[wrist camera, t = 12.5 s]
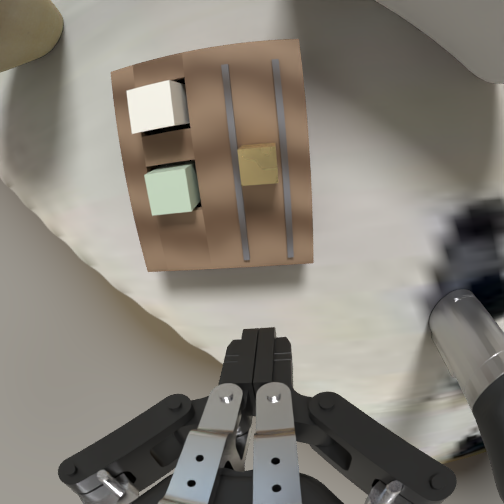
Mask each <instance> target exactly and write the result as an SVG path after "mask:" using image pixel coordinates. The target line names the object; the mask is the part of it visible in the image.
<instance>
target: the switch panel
mask: <svg viewBox="0 0 504 504" xmlns="http://www.w3.org/2000/svg"><path fill="white" fill-rule="evenodd" d="M180 79H185V87H186V95H187V104H188V112H189V120H190V128H188V129H181V130H176V131H170V132H164V133H159V134H154V135H151V134H150V130H149V131H144V132H139V133H134V134H132V130H131V123H130V116H129V108H128V100H127V92H126V91H127V90H131V89H135V88H138V87H142V86H146V85H150V84H154V83H158V82H163V81H167V80H171V81H175V80H180ZM111 80H112V90H113V99H114V107H115V115H116V122H117V129H118V136H119V142H120V148H121V154H122V160H123V166H124V171H125V176H126V182H127V187H128V192H129V196H130V201H131V206H132V210H133V215H134V219H135V223H136V228H137V232H138V236H139V240H140V244H141V248H142V252H143V256H144V259H145V263H146V267H147V270H148V272H158V271H180V270H200V269H220V268H239V267H257V266H274V265H291V264H307V263H313V219H312V191H311V170H310V153H309V138H308V124H307V112H306V100H305V90H304V80H303V70H302V61H301V53H300V44H299V39H284V40H268V41H256V42H246V43H237V44H230V45H223V46H216V47H210V48H204V49H198V50H193V51H188V52H183V53H178V54H174V55H169V56H165V57H161V58H157V59H153V60H149V61H146V62H142V63H138V64H135V65H132V66H128V67H125V68H122V69H119V70H116V71H113V72H111ZM261 143H275V145H276V156H277V168H278V181H279V183H274V184H260V185H247V186H241V178H240V169H239V160H238V151H237V150H238V149H239V148H240V147H241V146H242V145H250V144H261ZM194 159H195V165H196V172H197V179H198V185H199V192H200V198H201V205H202V207H197V208H194V209H193V211H192V212H182V213H172V214H163V215H154V216H152V212H151V208H150V203H149V198H148V192H147V187H146V182H145V177H144V175H145V174H147V173H149V172H151V171H152V170H154V169H156V166H155V165H160V164H166V163H173V162H179V161H186V160H194Z"/></svg>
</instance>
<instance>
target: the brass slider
mask: <svg viewBox="0 0 504 504" xmlns="http://www.w3.org/2000/svg"><path fill="white" fill-rule="evenodd" d="M237 151H238V160H239V169H240V178H241V186H247V185H260V184H274V183H279V181H278V168H277V156H276V145H275V143H261V144H250V145H242V146H241V147H240V148H239V149H238V150H237Z"/></svg>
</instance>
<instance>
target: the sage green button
mask: <svg viewBox="0 0 504 504" xmlns="http://www.w3.org/2000/svg"><path fill="white" fill-rule="evenodd" d="M144 177H145V182H146V187H147V192H148V198H149V203H150V208H151V212H152V216H154V215H163V214H172V213H182V212H192V211H193V209H194V208H195V207H196V206H197V204H198V203H199V202H200V200H201V198H200V192H199V185H198V179H197V172H196V165H195V161H188V162H181V163H174V164H167V165H162V166H160V167H158V168H156V169H154V170H152V171H151V172H149V173H147V174H145V175H144Z"/></svg>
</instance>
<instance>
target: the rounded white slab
mask: <svg viewBox="0 0 504 504" xmlns="http://www.w3.org/2000/svg"><path fill="white" fill-rule="evenodd" d="M375 1H376V2H378V3H380V4H381V5H383V6H385V7H386V8H388V9H390V10H391V11H393V12H394V13H396V14H397V15H399V16H401V17H402V18H404V19H405V20H406V21H408V22H409V23H411V24H412V25H414V26H415V27H417V28H418V29H419V30H421V31H422V32H423V33H425V34H426V35H427V36H429V37H430V38H431V39H433V40H434V41H435V42H437V43H438V44H439V45H440V46H442V47H443V48H444V49H445V50H446V51H448V52H449V53H450V54H451V55H452V56H454V57H455V58H456V59H457V60H458V61H459V62H460V63H462V64H463V65H464V66H465V67H466V68H467V69H468V70H469V71H470V72H472V73H473V74H474V75H476V76H477V77H478V78H480V79H482V80H484V81H486V82H490V83H494V84H504V0H375Z"/></svg>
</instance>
